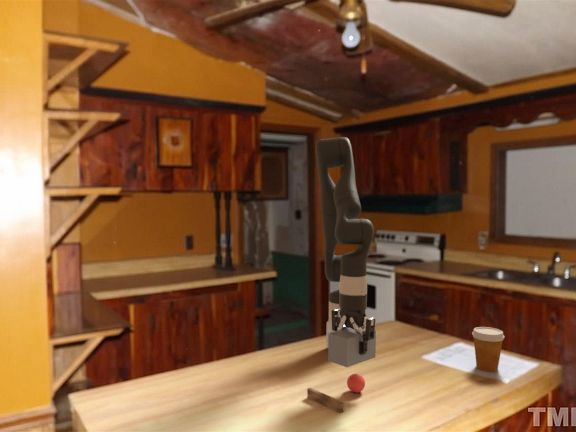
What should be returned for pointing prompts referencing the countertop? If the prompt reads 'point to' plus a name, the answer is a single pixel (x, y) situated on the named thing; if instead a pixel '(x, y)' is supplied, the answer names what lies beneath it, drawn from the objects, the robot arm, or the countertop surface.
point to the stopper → (325, 400)
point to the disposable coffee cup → (487, 347)
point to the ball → (356, 383)
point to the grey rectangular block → (348, 348)
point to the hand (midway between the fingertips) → (352, 350)
